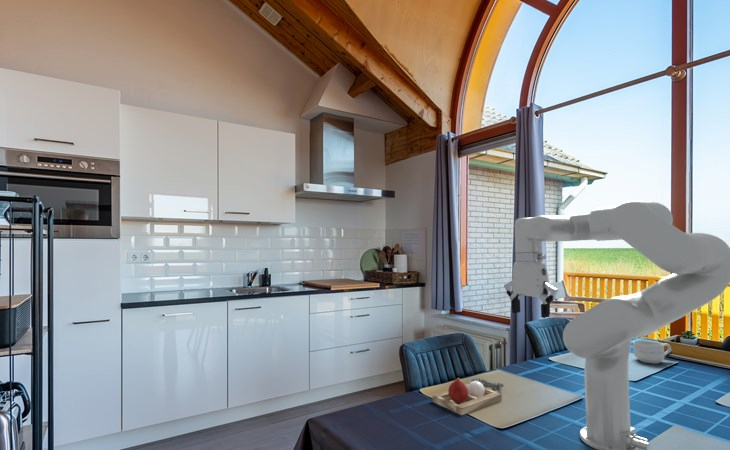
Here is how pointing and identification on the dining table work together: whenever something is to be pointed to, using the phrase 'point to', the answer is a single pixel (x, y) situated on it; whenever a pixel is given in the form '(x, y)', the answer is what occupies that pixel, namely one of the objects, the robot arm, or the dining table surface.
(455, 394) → the onion
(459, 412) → the holder board
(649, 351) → the teacup
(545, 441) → the dining table surface
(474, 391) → the ceramic egg
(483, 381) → the grey green leafy sprig
